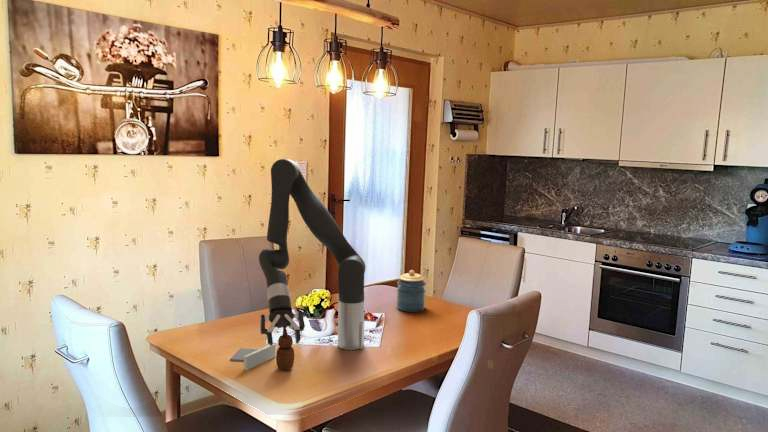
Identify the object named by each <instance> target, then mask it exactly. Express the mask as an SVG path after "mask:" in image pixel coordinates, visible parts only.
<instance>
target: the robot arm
mask: <svg viewBox="0 0 768 432" xmlns="http://www.w3.org/2000/svg"><path fill="white" fill-rule="evenodd" d="M270 178H271V179H270V181H271V182H270V183H271V184H270V185H271V202H270V210H269V218H268V224H267V234H266V239H267V242H268V243H271V244H274V245H278V249H277V248H276V249H274V248H272V249H271V248H264V249H262V250H261V251H260V253H259V254H258V255H259V256H258V262H259V266H260V268H261V270H262V272H263V275H264V277H265V280H266V288H267V303H268V311H269V315H265V314H261V315H260V319H259V320H260V321H259V322H260V323H259V324H260V334H261V335H266V339H267V340H266V341H267V344H268V345H270V346H271V345H272V344H274V340H273V334H272V333H273V331H274V330H275V329H276V328H277V329H281V328H283V323H284V324H285V326H286V328H290V329H291V330H292V331H293V332H294V338H295V344H299V343H300V342H301V339H302V337H301V332H303V331H304V330H305V327H306V326H305V320H304V317H303V313H302V311H299V312H298V313H294V312H293V308H292V302H291V301H292V299H291V294H290V289H289V287H288V286H289V284H288V277H287V274H286V272H285V271H283V270H285V269H287V268H288V266H289V263H290V254H289V249H288V231H289V221H290V212H289V210H290V197H291V198H292V199H293V201H294V203H295V205H296V208H297V210H298V212H299V215H300V216H301V219H302V220H303V222H304V223H305V225H306V227H307V228H308V230H310V232H311V234H312V235H313V236H314V237H315V238H316V239H317V240H318V241H319V242H320V243H321V244H322V245H323V246H324V247H325V248H327V250H328V251H329V252H330V253H331V254H332V256H333V257H334V260H335V261H336V263H337V264H338V269H337V270H338V271H337V272H338V273H337V274H338V276H337V278H338V279H337V280H338V281H337V292H338V293H337V294H338V313H337V315H338V322H337V324H338V325H337V346H338V348H340V349H341V350H346V351H355V350H362V349H363V347H364V344H365V272H366V263H365V260H363V258H362V257H361V256H360V254H359V253H358V252H357V251H356V250H355V249H354V248H353V246H352V245H351V244H350V243H349V241H348V240H347V239H346V237H345V235H344V234H343V232H342V230H341V228H340V226H339V225H338V223H337V222H336V221H335V219H334V217H333V216H332V214H331V213H330V211H329V210H328V209H327V208H326V205H324V203H323V202H322V200H321V199H320V198H319V197H318V196H317V195H316V194H315V192H314V191H313V190H312V189H311V187H310V185H309V184H308V182H307V181H306V179H305V177H304V176H303V173H302V172H301V170H300V168H299V166H298V163H296V162H295V161H294V160H292V159H289V158H281V159H280V158H279V159H278V160H276V161H275V162H274V163H272V166H271V167H270ZM294 318H295V320H297V321H298V324H297V323H296V322H295V320H294ZM268 320H269V322H270V325H269V326H268V328H266V323H267V321H268Z"/></svg>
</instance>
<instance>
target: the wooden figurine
mask: <svg viewBox="0 0 768 432" xmlns="http://www.w3.org/2000/svg"><path fill="white" fill-rule="evenodd" d="M293 340H294V339H293V336H291V335H290V334H289V333H288V329H287V327H286V326H285V324H284V323H283V327H282V335H280V336H279V337H278V340H277V342H278V348H277V349H276V352H275V359H276V360H275V361H276V362H275V363H276V366H277V369H278V370H279V371H282V372H288V371H291V370H292V368H293V367H294V363H295V362H294V361H295V349H294V347H292V345H293V343H294V341H293Z"/></svg>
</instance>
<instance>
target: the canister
mask: <svg viewBox="0 0 768 432" xmlns="http://www.w3.org/2000/svg"><path fill="white" fill-rule="evenodd" d="M408 271H409V272H407V273H403V274H402V275H400V276H399V277H398V280H397V282H396V283H397V288H396V291H397V292H396V293H397V294H396V308H397V310H399V311H402V312H406V313H407V312H408V313H417V312H423V311H424V310H425V307H426V288H425V286H426V284H427V283H426V282H425V278H424V276H422V275H421V274H420V273H416V272H415V270H414V269H410V270H408Z"/></svg>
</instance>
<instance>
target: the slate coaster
mask: <svg viewBox="0 0 768 432" xmlns="http://www.w3.org/2000/svg"><path fill="white" fill-rule="evenodd" d="M259 349H260V348H259ZM259 349H258V348H255V349H254V348H242V347H241V348H239V349H238V350H237V351H236V352H235V353H234V354H233V355H232V356H231V357H230V358H229V361H232V362H234V361H235V362H244V356H245V355H248V354H250V353H252V352H254V351H257V350H259Z"/></svg>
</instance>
